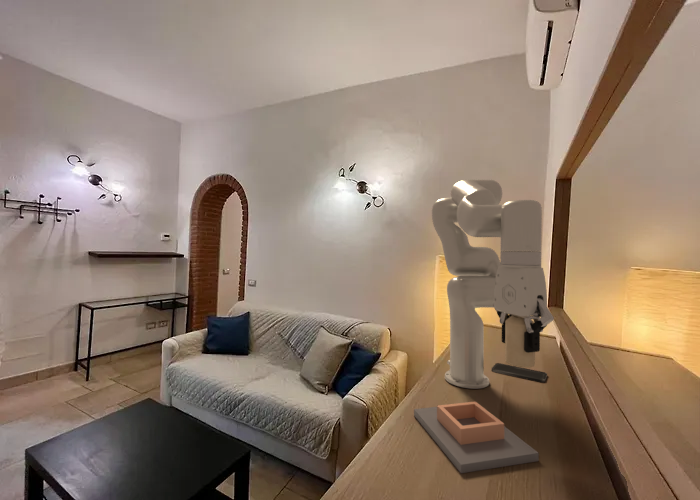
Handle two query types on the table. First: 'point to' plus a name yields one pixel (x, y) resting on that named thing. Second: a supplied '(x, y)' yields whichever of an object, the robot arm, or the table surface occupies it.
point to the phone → (520, 372)
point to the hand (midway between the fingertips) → (519, 345)
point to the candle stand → (474, 437)
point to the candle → (517, 343)
